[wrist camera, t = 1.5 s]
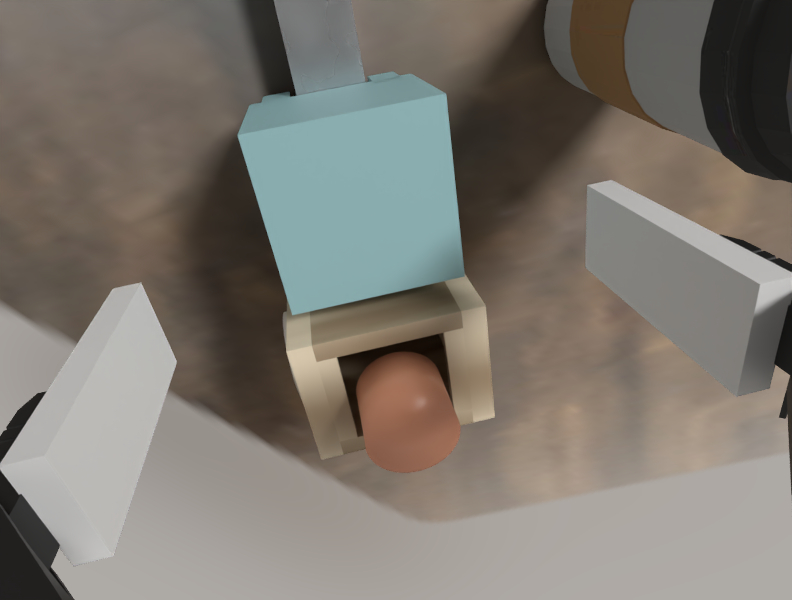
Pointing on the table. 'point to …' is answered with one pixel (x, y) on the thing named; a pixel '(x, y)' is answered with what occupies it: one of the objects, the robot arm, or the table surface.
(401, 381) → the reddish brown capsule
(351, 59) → the rail
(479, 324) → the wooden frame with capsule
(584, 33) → the coffee cup
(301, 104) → the block
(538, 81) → the table surface
